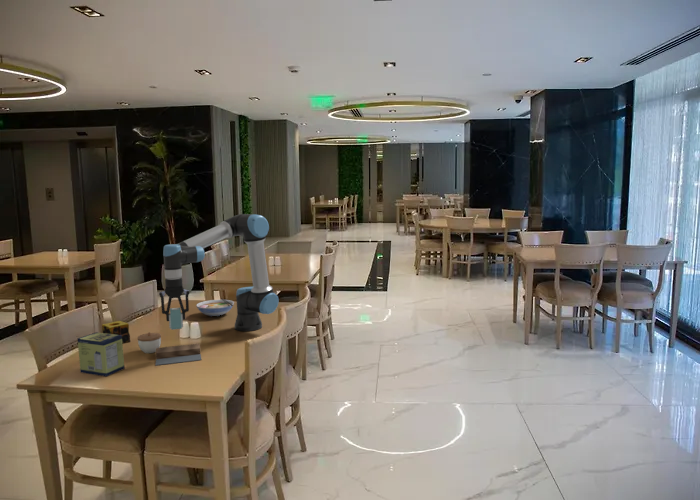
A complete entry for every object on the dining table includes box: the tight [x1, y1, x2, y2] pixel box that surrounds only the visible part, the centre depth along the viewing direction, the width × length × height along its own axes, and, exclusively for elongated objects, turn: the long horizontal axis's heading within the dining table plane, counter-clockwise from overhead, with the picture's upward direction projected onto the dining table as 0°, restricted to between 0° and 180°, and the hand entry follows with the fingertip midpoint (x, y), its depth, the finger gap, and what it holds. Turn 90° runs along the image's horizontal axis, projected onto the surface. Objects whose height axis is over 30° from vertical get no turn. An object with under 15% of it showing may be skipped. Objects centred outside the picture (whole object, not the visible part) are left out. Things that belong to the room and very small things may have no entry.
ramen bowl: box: [196, 297, 235, 317], centre depth 325 cm, size 25×23×8 cm
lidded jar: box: [137, 332, 162, 354], centre depth 257 cm, size 11×11×9 cm
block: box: [169, 307, 183, 331], centre depth 245 cm, size 4×4×9 cm
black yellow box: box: [101, 320, 131, 345], centre depth 272 cm, size 10×10×10 cm
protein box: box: [77, 331, 125, 378], centre depth 231 cm, size 10×16×16 cm
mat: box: [155, 353, 202, 367], centre depth 244 cm, size 20×8×1 cm, turn 109°
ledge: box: [155, 343, 201, 360], centre depth 252 cm, size 20×8×3 cm, turn 109°
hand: (176, 327), depth 246 cm, fingers closed on block, 4 cm apart
